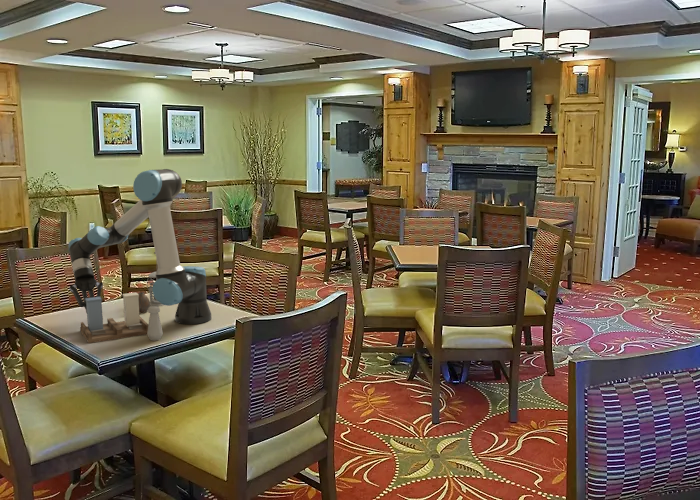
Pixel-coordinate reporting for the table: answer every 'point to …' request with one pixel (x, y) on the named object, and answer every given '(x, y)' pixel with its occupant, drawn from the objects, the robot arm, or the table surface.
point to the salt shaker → (154, 324)
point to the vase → (143, 302)
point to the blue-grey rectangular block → (94, 313)
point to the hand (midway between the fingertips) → (93, 320)
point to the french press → (152, 301)
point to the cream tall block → (131, 308)
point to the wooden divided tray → (114, 330)
